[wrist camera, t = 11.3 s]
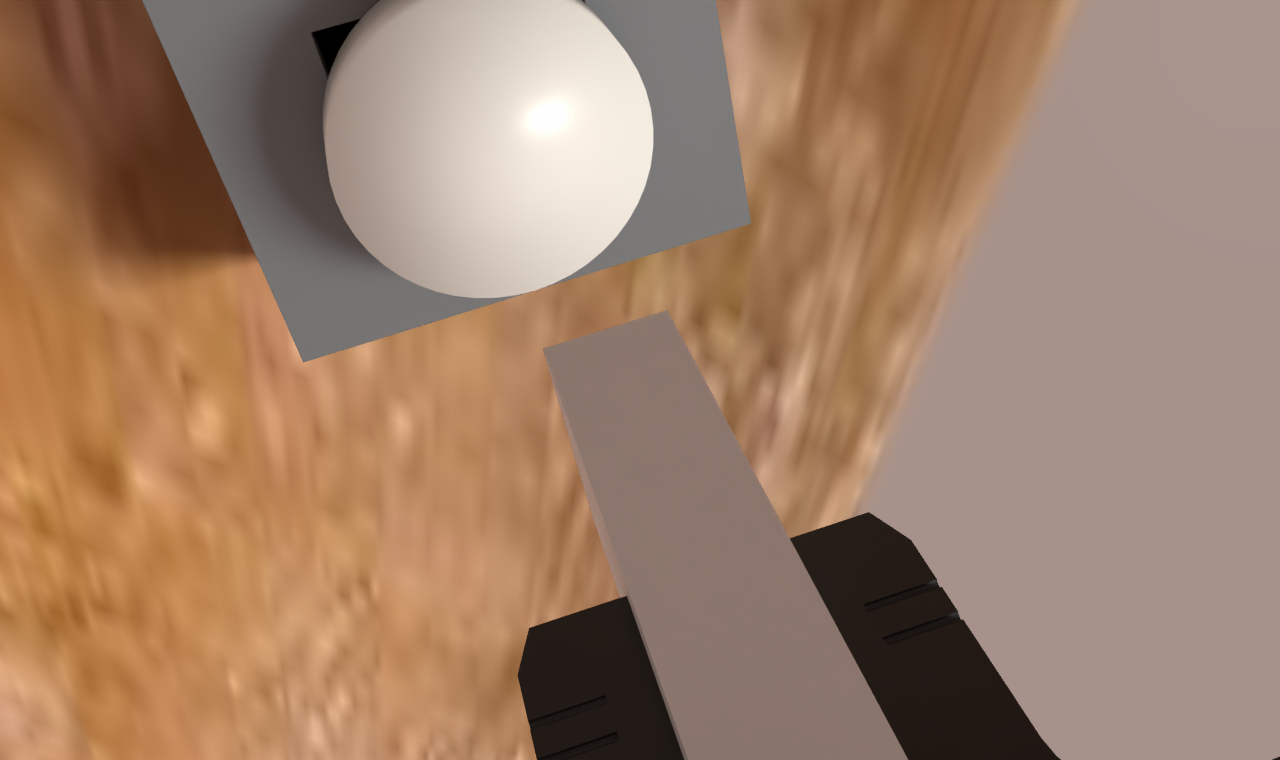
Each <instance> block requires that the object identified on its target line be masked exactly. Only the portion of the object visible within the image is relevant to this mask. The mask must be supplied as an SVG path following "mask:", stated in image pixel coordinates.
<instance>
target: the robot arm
mask: <svg viewBox="0 0 1280 760" xmlns="http://www.w3.org/2000/svg"><path fill="white" fill-rule="evenodd" d="M543 351H544V354H545V357H546V361H547V364H548V368H549V371H550V374H551V378H552V381H553V385H554V388H555V391H556V395H557V398H558V401H559V405H560V408H561V412H562V415H563V418H564V422H565V425H566V428H567V432H568V435H569V439H570V442H571V445H572V449H573V452H574V456H575V459H576V462H577V466H578V469H579V472H580V476H581V479H582V483H583V486H584V489H585V493H586V496H587V499H588V503H589V506H590V510H591V513H592V516H593V520H594V523H595V525H596V528H597V531H598V534H599V537H600V540H601V543H602V546H603V549H604V552H605V555H606V558H607V560H608V563H609V566H610V569H611V572H612V575H613V578H614V581H615V584H616V587H617V590H618V592H619V595H620V598H618V599H615V600H612V601H609V602H606V603H603V604H600V605H597V606H594V607H591V608H588V609H585V610H582V611H579V612H576V613H573V614H570V615H567V616H564V617H561V618H558V619H555V620H552V621H549V622H546V623H543V624H540V625H537V626H534V627H531V628H529V631H528V635H527V639H526V643H525V647H524V651H523V655H522V660H521V664H520V668H519V672H518V679H519V683H520V687H521V692H522V696H523V700H524V705H525V709H526V714H527V718H528V722H529V725H530V729H531V730H530V731H531V736H532V740H533V744H534V749H535V753H536V757H537V760H1061V759H1059V758H1058V757H1057V756H1056V755H1055V754H1054V753H1053V751H1052V750H1051V749H1050V748H1049V747H1048V746H1047V744H1046V743H1045V742H1044V741H1043V740H1042V738H1041V737H1040V736H1039V734H1038V732H1037V731H1036V730H1035V728H1034V726H1033V725H1032V723H1031V722H1030V720H1029V719H1028V717H1027V716H1026V714H1025V713H1024V711H1023V710H1022V708H1021V707H1020V705H1019V704H1018V702H1017V701H1016V699H1015V698H1014V696H1013V695H1012V693H1011V691H1010V690H1009V688H1008V687H1007V685H1006V684H1005V682H1004V681H1003V679H1002V678H1001V676H1000V675H999V673H998V672H997V670H996V669H995V667H994V666H993V664H992V663H991V661H990V660H989V658H988V656H987V655H986V653H985V652H984V651H983V649H982V648H981V646H980V644H979V643H978V641H977V640H976V638H975V637H974V635H973V634H972V632H971V631H970V629H969V628H968V626H967V625H966V623H965V622H964V620H961V619H960V617H959V614H958V611H957V609H956V608H955V606H954V605H953V603H952V602H951V600H950V599H949V597H948V596H947V594H946V593H945V591H944V590H943V588H942V587H939V585H938V583H937V579H936V577H935V576H934V574H933V573H932V571H931V570H930V568H929V567H928V565H927V564H926V562H925V561H924V559H923V558H922V556H921V555H920V553H919V552H918V550H917V549H916V547H915V546H914V544H913V542H912V541H911V540H910V539H909V538H907V537H906V536H904V535H903V534H901V533H900V532H898V531H896V530H895V529H894V528H892V527H891V526H889V525H887V524H886V523H884V522H883V521H881V520H880V519H878V518H877V517H875V516H874V515H872V514H871V513H869V512H868V513H865V514H862V515H859V516H856V517H853V518H850V519H847V520H844V521H841V522H838V523H835V524H832V525H829V526H826V527H823V528H820V529H817V530H814V531H811V532H808V533H805V534H802V535H799V536H796V537H793V538H789V536H788V535H787V533H786V531H785V529H784V527H783V525H782V523H781V521H780V520H779V518H778V516H777V514H776V512H775V510H774V508H773V507H772V505H771V503H770V501H769V499H768V497H767V495H766V493H765V492H764V490H763V488H762V486H761V484H760V482H759V480H758V478H757V477H756V475H755V473H754V471H753V469H752V467H751V465H750V464H749V462H748V460H747V458H746V456H745V454H744V452H743V450H742V449H741V447H740V445H739V443H738V441H737V439H736V437H735V436H734V434H733V432H732V430H731V428H730V426H729V424H728V422H727V421H726V419H725V417H724V415H723V413H722V411H721V409H720V408H719V406H718V404H717V402H716V400H715V398H714V396H713V394H712V393H711V391H710V389H709V387H708V385H707V383H706V381H705V380H704V378H703V376H702V374H701V372H700V370H699V368H698V366H697V365H696V363H695V361H694V359H693V357H692V355H691V353H690V352H689V350H688V348H687V346H686V344H685V342H684V340H683V338H682V337H681V335H680V333H679V331H678V329H677V327H676V325H675V324H674V322H673V320H672V318H671V316H670V314H669V312H668V310H667V311H663V312H660V313H657V314H654V315H650V316H647V317H644V318H641V319H638V320H634V321H631V322H628V323H625V324H621V325H618V326H615V327H612V328H608V329H605V330H602V331H599V332H596V333H592V334H589V335H586V336H583V337H579V338H576V339H573V340H570V341H567V342H563V343H560V344H557V345H554V346H550V347H547V348H544V349H543ZM1273 760H1280V757H1278V758H1275V759H1273Z"/></svg>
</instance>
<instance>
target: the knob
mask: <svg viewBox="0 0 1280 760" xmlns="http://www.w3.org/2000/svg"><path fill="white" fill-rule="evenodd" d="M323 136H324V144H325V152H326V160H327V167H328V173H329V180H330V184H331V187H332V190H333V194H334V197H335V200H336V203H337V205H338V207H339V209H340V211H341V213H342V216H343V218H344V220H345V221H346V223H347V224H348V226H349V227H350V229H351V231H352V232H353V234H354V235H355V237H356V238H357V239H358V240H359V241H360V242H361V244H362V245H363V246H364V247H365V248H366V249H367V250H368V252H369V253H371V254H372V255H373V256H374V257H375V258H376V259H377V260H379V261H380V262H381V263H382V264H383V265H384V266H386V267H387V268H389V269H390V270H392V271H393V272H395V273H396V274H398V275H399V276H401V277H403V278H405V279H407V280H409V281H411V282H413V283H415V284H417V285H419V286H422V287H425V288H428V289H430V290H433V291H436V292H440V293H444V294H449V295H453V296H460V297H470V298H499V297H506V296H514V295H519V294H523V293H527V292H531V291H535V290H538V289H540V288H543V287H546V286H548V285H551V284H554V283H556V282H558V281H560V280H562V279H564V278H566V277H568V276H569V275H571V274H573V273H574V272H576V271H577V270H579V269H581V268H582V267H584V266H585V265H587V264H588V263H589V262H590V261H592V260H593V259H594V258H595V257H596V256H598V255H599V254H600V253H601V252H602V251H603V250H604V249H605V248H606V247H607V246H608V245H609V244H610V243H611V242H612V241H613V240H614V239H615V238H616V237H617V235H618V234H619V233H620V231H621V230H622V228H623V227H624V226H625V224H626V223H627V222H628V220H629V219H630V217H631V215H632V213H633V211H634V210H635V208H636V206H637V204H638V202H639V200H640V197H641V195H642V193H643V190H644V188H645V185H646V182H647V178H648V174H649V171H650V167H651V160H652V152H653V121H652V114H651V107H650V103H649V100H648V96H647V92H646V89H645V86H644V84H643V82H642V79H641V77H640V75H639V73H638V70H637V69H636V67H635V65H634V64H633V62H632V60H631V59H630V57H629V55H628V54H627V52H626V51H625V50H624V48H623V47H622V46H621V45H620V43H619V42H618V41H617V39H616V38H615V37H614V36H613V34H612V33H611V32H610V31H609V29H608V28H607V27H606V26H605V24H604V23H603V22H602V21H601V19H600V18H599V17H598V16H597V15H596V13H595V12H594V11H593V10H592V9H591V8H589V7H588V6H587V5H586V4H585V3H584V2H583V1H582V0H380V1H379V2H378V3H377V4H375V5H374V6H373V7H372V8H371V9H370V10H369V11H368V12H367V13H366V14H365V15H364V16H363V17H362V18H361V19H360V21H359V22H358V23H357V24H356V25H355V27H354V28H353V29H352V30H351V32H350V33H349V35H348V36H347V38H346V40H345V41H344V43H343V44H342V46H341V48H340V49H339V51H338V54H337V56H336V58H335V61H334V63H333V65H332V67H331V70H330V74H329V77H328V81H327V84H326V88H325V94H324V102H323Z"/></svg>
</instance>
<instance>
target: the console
mask: <svg viewBox="0 0 1280 760" xmlns="http://www.w3.org/2000/svg"><path fill="white" fill-rule="evenodd" d="M142 1H143V3H144V6H145V8H146V10H147V12H148V15H149V17H150V19H151V21H152V24H153V26H154V28H155V30H156V33H157V35H158V37H159V39H160V42H161V44H162V46H163V48H164V51H165V53H166V55H167V57H168V60H169V62H170V64H171V66H172V69H173V71H174V73H175V75H176V78H177V80H178V82H179V84H180V87H181V89H182V91H183V93H184V95H185V98H186V100H187V102H188V104H189V107H190V109H191V111H192V113H193V116H194V118H195V120H196V122H197V125H198V127H199V129H200V131H201V134H202V136H203V138H204V140H205V143H206V145H207V147H208V149H209V152H210V154H211V156H212V158H213V161H214V163H215V165H216V167H217V170H218V172H219V174H220V176H221V179H222V181H223V183H224V185H225V188H226V190H227V192H228V194H229V196H230V199H231V201H232V203H233V205H234V208H235V210H236V212H237V214H238V217H239V219H240V221H241V223H242V226H243V228H244V230H245V232H246V235H247V237H248V239H249V241H250V244H251V246H252V248H253V250H254V253H255V255H256V257H257V259H258V262H259V264H260V266H261V268H262V271H263V273H264V275H265V277H266V280H267V282H268V284H269V286H270V289H271V291H272V293H273V295H274V298H275V300H276V302H277V304H278V306H279V309H280V311H281V313H282V315H283V318H284V320H285V322H286V324H287V327H288V329H289V331H290V333H291V336H292V338H293V340H294V342H295V345H296V347H297V349H298V351H299V354H300V356H301V358H302V360H303V362H306V361H309V360H313V359H316V358H319V357H322V356H325V355H329V354H332V353H335V352H338V351H342V350H345V349H348V348H351V347H354V346H358V345H361V344H364V343H367V342H371V341H374V340H377V339H380V338H383V337H387V336H390V335H393V334H396V333H400V332H403V331H406V330H409V329H412V328H416V327H419V326H422V325H425V324H429V323H432V322H435V321H438V320H441V319H445V318H448V317H451V316H454V315H458V314H461V313H464V312H467V311H470V310H474V309H477V308H480V307H483V306H487V305H490V304H493V303H496V302H499V301H503V300H506V299H509V298H512V297H516V296H519V295H522V294H519V295H514V296H506V297H499V298H470V297H460V296H453V295H449V294H444V293H440V292H436V291H433V290H430V289H428V288H425V287H422V286H419V285H417V284H415V283H413V282H411V281H409V280H407V279H405V278H403V277H401V276H399V275H398V274H396V273H395V272H393V271H392V270H390V269H389V268H387V267H386V266H384V265H383V264H382V263H381V262H380V261H379V260H377V259H376V258H375V257H374V256H373V255H372V254H371V253H369V252H368V250H367V249H366V248H365V247H364V246H363V245H362V244H361V242H360V241H359V240H358V239H357V238H356V237H355V235H354V234H353V232H352V231H351V229H350V227H349V226H348V224H347V223H346V221H345V220H344V218H343V216H342V213H341V211H340V209H339V207H338V205H337V203H336V200H335V197H334V194H333V190H332V187H331V184H330V180H329V173H328V167H327V160H326V152H325V144H324V136H323V102H324V94H325V88H326V84H327V81H328V77H329V73H328V70H327V67H326V64H325V62H324V59H323V56H322V53H321V51H320V48H319V45H318V42H317V40H316V37H315V34H314V32H315V31H318V30H322V29H325V28H329V27H332V26H336V25H340V24H343V23H347V22H350V21H354V20H357V19H361V18H362V17H363V16H364V15H365V14H366V13H367V12H368V11H369V10H370V9H371V8H372V7H373V6H374V5H375V4H377V3H378V2H379V1H380V0H142ZM582 1H583V2H584V3H585V4H586V5H587V6H588V7H589V8H591V9H592V10H593V11H594V12H595V13H596V15H597V16H598V17H599V18H600V19H601V21H602V22H603V23H604V24H605V26H606V27H607V28H608V29H609V31H610V32H611V33H612V34H613V36H614V37H615V38H616V39H617V41H618V42H619V43H620V45H621V46H622V47H623V48H624V50H625V51H626V52H627V54H628V55H629V57H630V59H631V60H632V62H633V64H634V65H635V67H636V69H637V70H638V73H639V75H640V77H641V79H642V82H643V84H644V86H645V89H646V92H647V96H648V100H649V103H650V107H651V114H652V121H653V152H652V160H651V167H650V171H649V174H648V178H647V182H646V185H645V188H644V190H643V193H642V195H641V197H640V200H639V202H638V204H637V206H636V208H635V210H634V211H633V213H632V215H631V217H630V219H629V220H628V222H627V223H626V224H625V226H624V227H623V228H622V230H621V231H620V233H619V234H618V235H617V237H616V238H615V239H614V240H613V241H612V242H611V243H610V244H609V245H608V246H607V247H606V248H605V249H604V250H603V251H602V252H601V253H600V254H599V255H598V256H596V257H595V258H594V259H593V260H592V261H590V262H589V263H588V264H587V265H585V266H584V267H582V268H581V269H579V270H577V271H576V272H574V273H573V274H571V275H569V276H568V277H566V278H564V279H562V280H560V281H558V282H556V283H554V284H557V283H561V282H564V281H567V280H570V279H574V278H577V277H580V276H583V275H586V274H590V273H593V272H596V271H599V270H602V269H606V268H609V267H612V266H615V265H619V264H622V263H625V262H628V261H631V260H635V259H638V258H641V257H644V256H648V255H651V254H654V253H657V252H660V251H664V250H667V249H670V248H673V247H677V246H680V245H683V244H686V243H689V242H693V241H696V240H699V239H702V238H706V237H709V236H712V235H715V234H718V233H722V232H725V231H728V230H731V229H735V228H738V227H741V226H744V225H747V224H751V221H750V214H749V208H748V202H747V195H746V189H745V183H744V176H743V170H742V164H741V158H740V151H739V145H738V139H737V132H736V126H735V120H734V113H733V107H732V101H731V94H730V88H729V82H728V75H727V69H726V63H725V56H724V50H723V44H722V37H721V31H720V25H719V18H718V12H717V6H716V0H582ZM554 284H551V285H554ZM551 285H548V286H551ZM548 286H546V287H548ZM543 288H545V287H543ZM540 289H541V288H540ZM531 292H532V291H531ZM527 293H528V292H527ZM523 294H525V293H523Z"/></svg>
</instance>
